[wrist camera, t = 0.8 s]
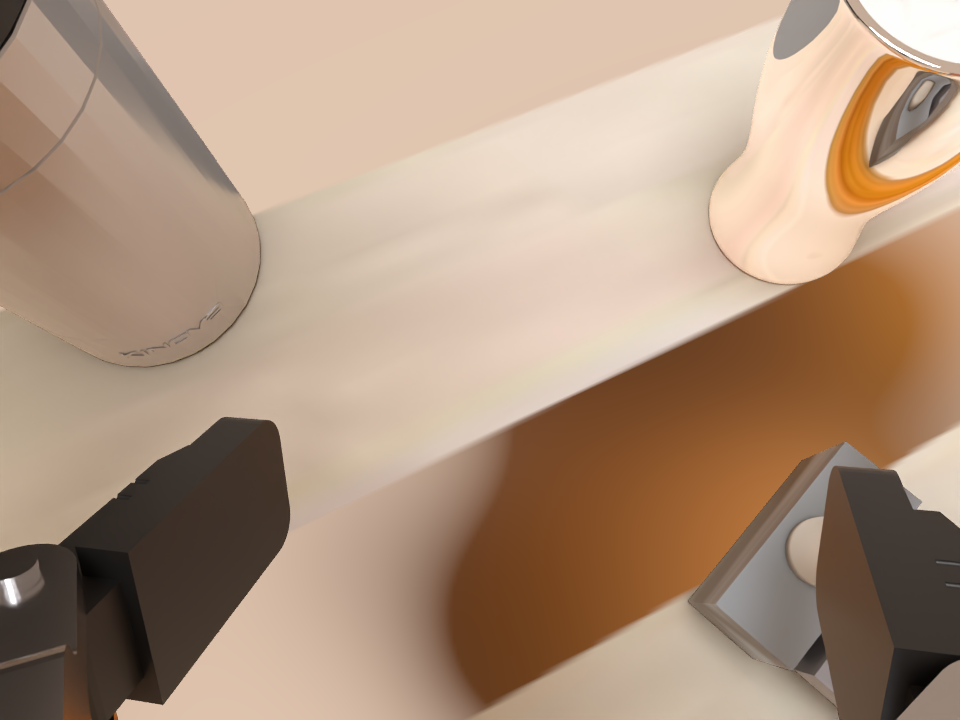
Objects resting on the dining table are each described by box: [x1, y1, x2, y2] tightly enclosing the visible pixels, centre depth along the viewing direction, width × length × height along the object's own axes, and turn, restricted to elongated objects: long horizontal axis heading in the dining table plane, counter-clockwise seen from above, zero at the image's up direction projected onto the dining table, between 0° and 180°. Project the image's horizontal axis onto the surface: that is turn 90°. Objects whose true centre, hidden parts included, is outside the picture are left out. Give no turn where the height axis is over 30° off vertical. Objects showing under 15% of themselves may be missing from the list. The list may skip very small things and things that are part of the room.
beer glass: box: [709, 0, 960, 284], centre depth 28 cm, size 7×7×15 cm
